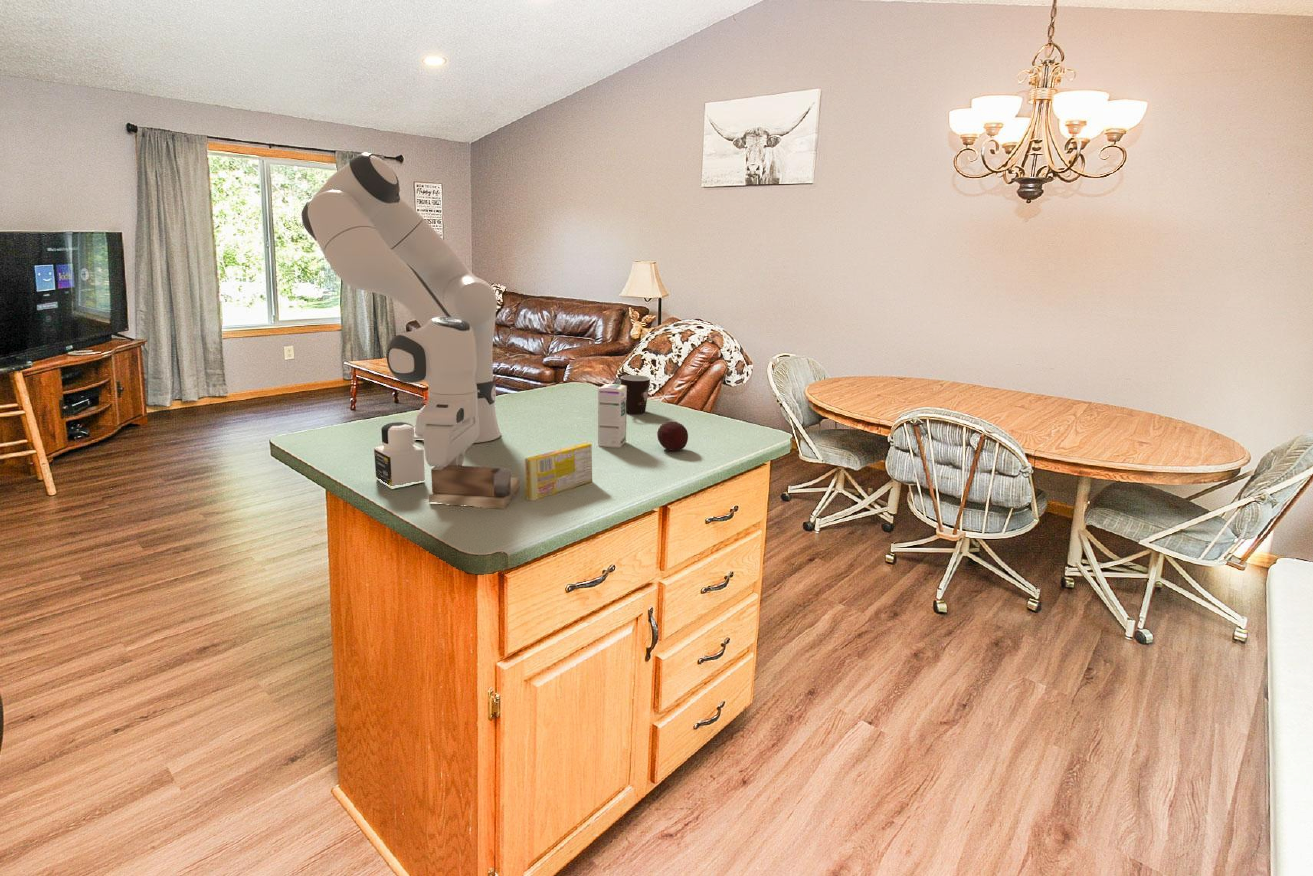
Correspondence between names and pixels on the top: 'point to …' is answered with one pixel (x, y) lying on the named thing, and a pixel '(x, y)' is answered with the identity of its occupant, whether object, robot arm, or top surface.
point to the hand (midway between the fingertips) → (455, 475)
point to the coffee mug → (636, 393)
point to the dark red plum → (672, 436)
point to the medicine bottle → (399, 455)
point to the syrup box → (612, 415)
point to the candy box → (558, 470)
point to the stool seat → (476, 498)
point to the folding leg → (471, 480)
